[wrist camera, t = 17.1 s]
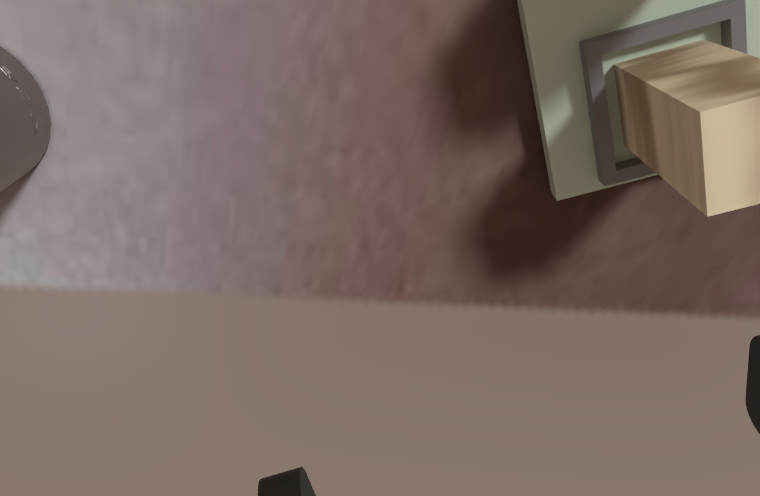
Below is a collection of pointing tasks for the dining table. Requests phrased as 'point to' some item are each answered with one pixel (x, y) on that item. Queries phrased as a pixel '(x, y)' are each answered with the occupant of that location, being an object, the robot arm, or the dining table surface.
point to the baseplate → (610, 74)
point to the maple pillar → (696, 121)
